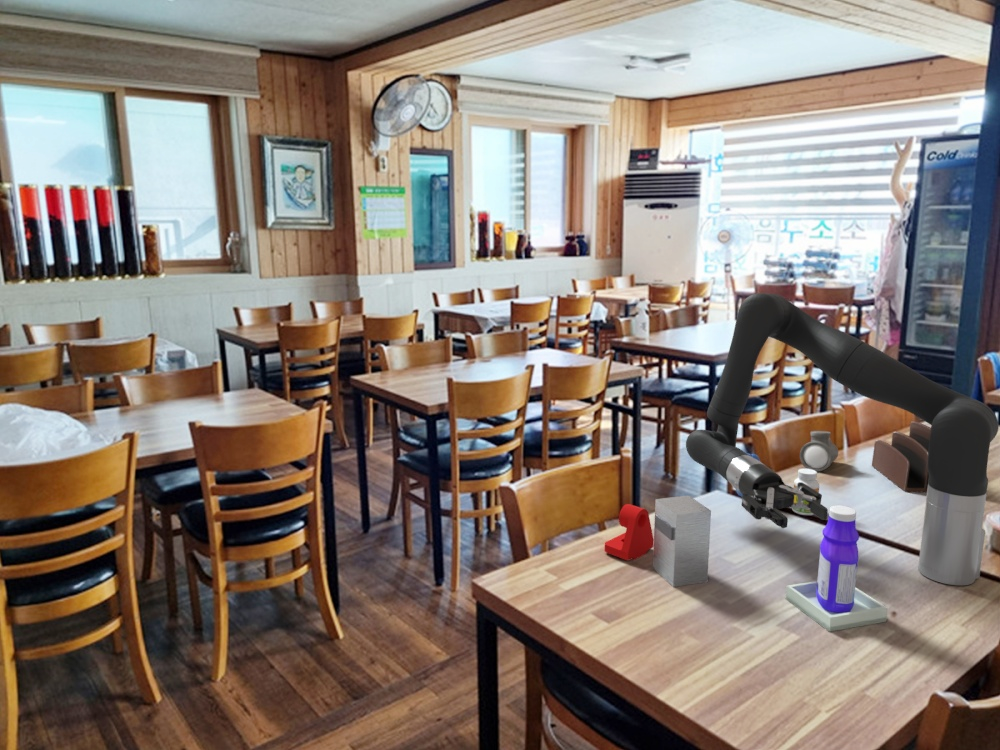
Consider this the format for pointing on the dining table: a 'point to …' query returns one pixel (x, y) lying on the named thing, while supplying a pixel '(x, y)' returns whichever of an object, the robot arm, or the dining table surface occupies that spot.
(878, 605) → the tray
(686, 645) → the dining table surface
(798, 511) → the supplement bottle
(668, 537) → the dispenser
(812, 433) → the pipe fitting
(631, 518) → the bracket
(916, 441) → the letter holder
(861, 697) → the dining table surface
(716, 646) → the dining table surface
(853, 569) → the bottle
